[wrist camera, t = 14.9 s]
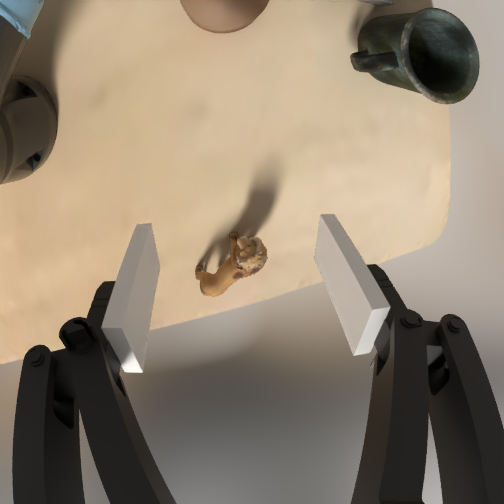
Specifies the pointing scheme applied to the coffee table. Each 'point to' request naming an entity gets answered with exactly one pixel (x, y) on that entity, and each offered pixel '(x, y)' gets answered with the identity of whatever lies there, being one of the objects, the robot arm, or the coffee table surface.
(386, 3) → the tray
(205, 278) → the lion figurine
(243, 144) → the coffee table surface
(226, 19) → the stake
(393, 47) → the mug
